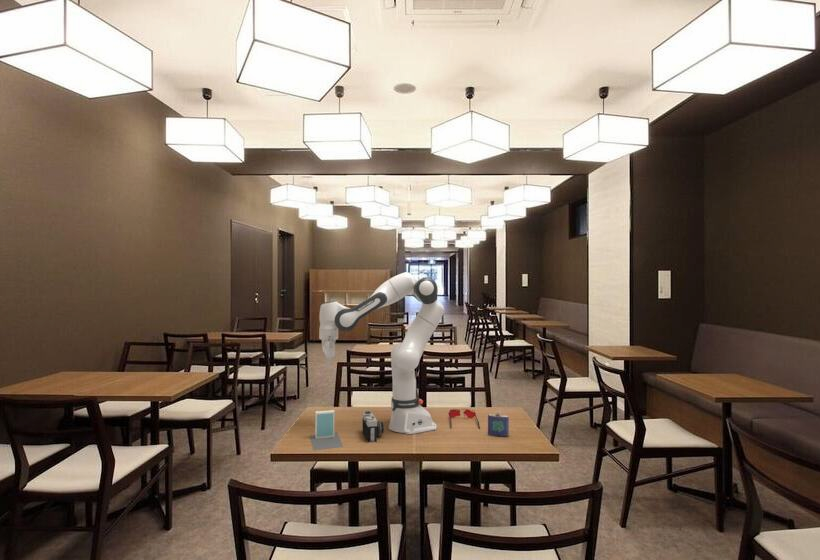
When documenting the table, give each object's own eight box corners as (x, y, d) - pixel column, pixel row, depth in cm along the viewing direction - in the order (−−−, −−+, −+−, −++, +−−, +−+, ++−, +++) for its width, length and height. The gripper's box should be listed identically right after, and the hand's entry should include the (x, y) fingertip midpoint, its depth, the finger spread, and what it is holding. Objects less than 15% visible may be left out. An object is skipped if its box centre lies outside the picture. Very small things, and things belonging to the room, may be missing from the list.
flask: (508, 435, 195) (508, 411, 195) (508, 437, 192) (508, 413, 192) (487, 433, 197) (488, 410, 197) (487, 435, 194) (487, 411, 194)
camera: (385, 442, 185) (384, 418, 185) (363, 444, 184) (362, 420, 184) (382, 431, 199) (381, 409, 199) (362, 432, 198) (361, 410, 198)
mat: (337, 433, 196) (337, 432, 196) (343, 448, 178) (343, 447, 178) (310, 435, 192) (310, 434, 192) (313, 451, 175) (313, 450, 175)
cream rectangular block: (333, 434, 192) (333, 410, 192) (334, 436, 190) (334, 411, 190) (315, 436, 190) (315, 411, 190) (315, 438, 188) (315, 413, 188)
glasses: (475, 418, 220) (475, 408, 220) (480, 429, 203) (480, 419, 203) (448, 418, 220) (448, 408, 220) (450, 429, 204) (450, 418, 204)
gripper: (338, 337, 196) (338, 368, 196) (332, 332, 216) (332, 360, 216) (324, 338, 195) (324, 369, 194) (319, 333, 214) (319, 361, 214)
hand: (328, 364), depth 205 cm, fingers closed
